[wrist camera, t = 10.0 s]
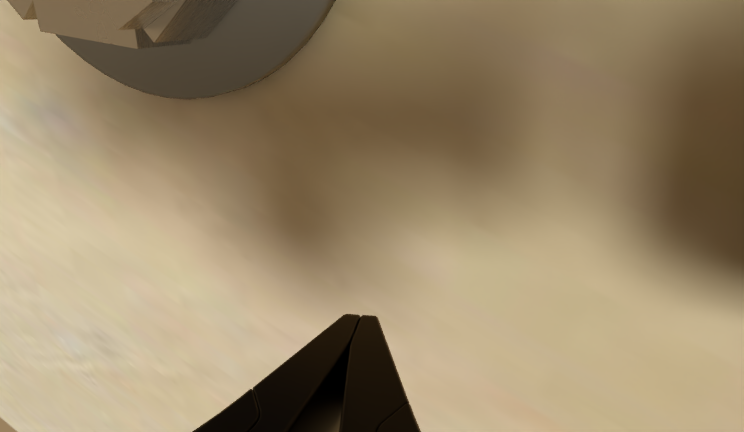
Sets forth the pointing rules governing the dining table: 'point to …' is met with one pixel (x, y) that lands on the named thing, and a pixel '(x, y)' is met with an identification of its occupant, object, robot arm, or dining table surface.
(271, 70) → the grey stone circle model
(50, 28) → the grey stone ring wall
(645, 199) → the dining table surface
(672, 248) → the dining table surface
